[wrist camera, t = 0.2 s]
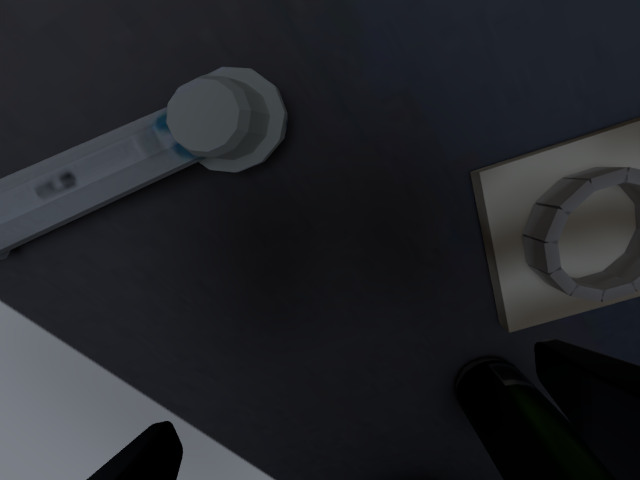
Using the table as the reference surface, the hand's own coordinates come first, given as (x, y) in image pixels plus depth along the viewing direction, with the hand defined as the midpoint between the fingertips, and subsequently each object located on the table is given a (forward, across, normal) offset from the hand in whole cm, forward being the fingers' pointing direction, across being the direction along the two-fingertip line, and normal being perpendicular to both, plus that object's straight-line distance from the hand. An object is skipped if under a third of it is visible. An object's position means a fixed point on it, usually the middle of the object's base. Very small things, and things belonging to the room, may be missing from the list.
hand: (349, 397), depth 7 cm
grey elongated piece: (+15, +13, -8) cm, 21 cm away
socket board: (+14, -17, +3) cm, 22 cm away
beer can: (+15, -10, +14) cm, 23 cm away
